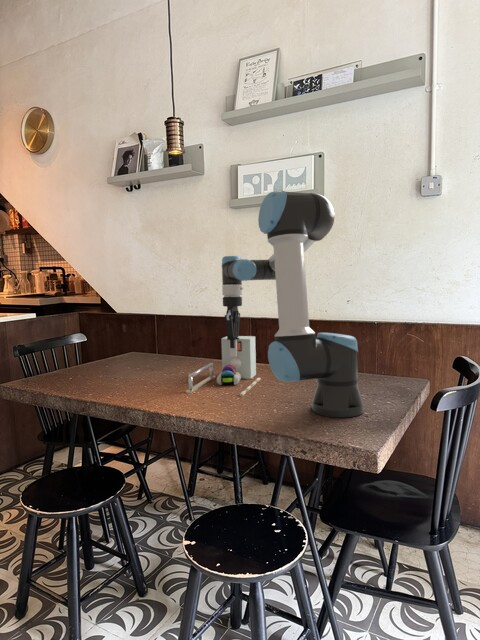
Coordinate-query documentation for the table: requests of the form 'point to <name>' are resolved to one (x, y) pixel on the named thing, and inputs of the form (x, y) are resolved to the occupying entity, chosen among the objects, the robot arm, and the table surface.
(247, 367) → the cabinet
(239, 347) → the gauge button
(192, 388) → the handrail
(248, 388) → the cream square stick
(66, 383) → the table surface
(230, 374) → the rainbow petal baby toy
